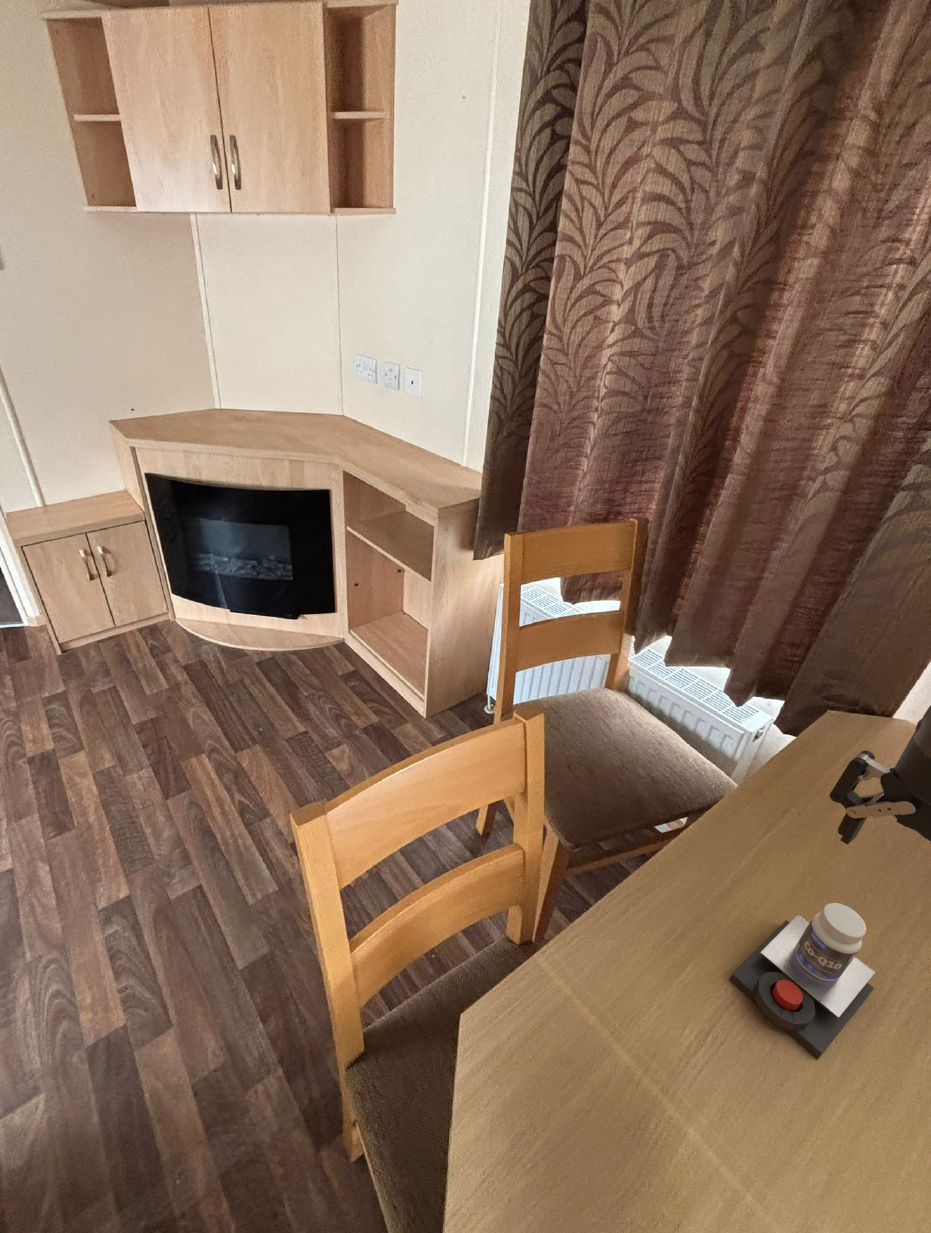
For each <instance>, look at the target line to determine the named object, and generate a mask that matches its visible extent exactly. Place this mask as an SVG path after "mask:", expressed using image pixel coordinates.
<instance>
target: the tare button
mask: <svg viewBox="0 0 931 1233" xmlns="http://www.w3.org/2000/svg"><path fill="white" fill-rule="evenodd" d="M772 994H773V997H774V999H775V1001H776V1002H777V1003H778V1004H779V1005H780V1006H781V1007H782V1008H784V1009H786V1010H791V1011H793V1010H796V1009H797V1008H798V1007H799V1005H800V1004H801V1002H802V1001H803V995H802V992H801V990H800V989H799V988H798V987H797V986H796V985H795V984H794V983H792V982H790V981H788V980H779V981H778V982H777V983H776V985H775V987H774V988H773V991H772Z"/></svg>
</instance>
